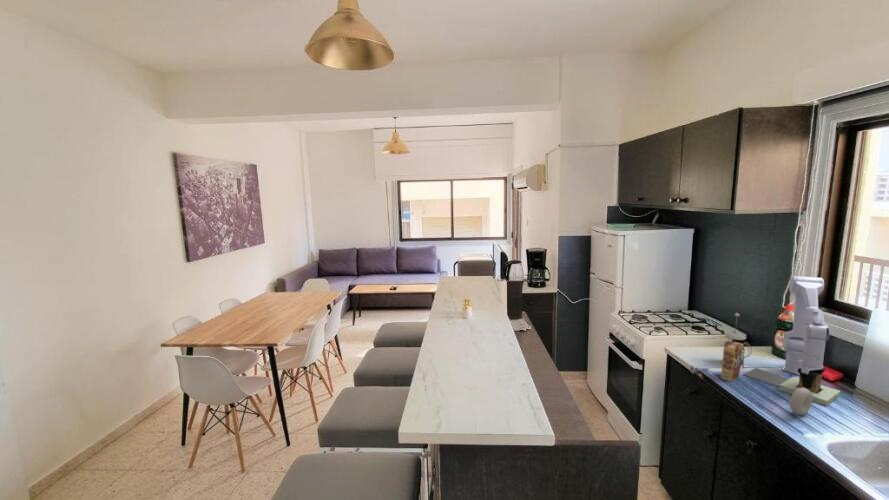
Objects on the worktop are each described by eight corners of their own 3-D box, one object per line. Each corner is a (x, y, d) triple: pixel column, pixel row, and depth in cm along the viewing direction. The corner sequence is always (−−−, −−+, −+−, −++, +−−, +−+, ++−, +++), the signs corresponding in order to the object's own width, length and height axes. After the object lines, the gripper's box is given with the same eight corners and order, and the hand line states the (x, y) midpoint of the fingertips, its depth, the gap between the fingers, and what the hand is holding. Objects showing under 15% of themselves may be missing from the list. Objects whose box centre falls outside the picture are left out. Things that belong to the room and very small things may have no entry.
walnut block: (803, 388, 148) (805, 369, 147) (819, 393, 144) (822, 374, 143) (797, 391, 146) (800, 372, 145) (814, 397, 141) (817, 378, 140)
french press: (728, 357, 177) (732, 309, 174) (755, 367, 167) (760, 316, 163) (715, 361, 174) (719, 311, 171) (741, 371, 163) (746, 319, 160)
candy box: (732, 382, 154) (735, 348, 152) (720, 378, 158) (723, 345, 156) (740, 376, 159) (743, 343, 157) (728, 372, 163) (731, 340, 161)
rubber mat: (755, 368, 166) (756, 367, 166) (790, 379, 155) (790, 378, 155) (743, 375, 160) (743, 374, 160) (777, 387, 149) (778, 386, 149)
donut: (798, 420, 127) (801, 393, 126) (786, 414, 131) (789, 389, 129) (812, 412, 131) (816, 387, 130) (800, 408, 135) (803, 383, 133)
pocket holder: (793, 380, 154) (793, 376, 154) (839, 395, 142) (840, 390, 142) (778, 389, 148) (779, 384, 147) (826, 405, 135) (827, 401, 135)
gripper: (807, 346, 149) (803, 377, 151) (792, 354, 143) (788, 386, 145) (831, 352, 143) (827, 384, 145) (816, 360, 137) (812, 394, 138)
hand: (809, 385), depth 144 cm, fingers closed on walnut block, 5 cm apart
